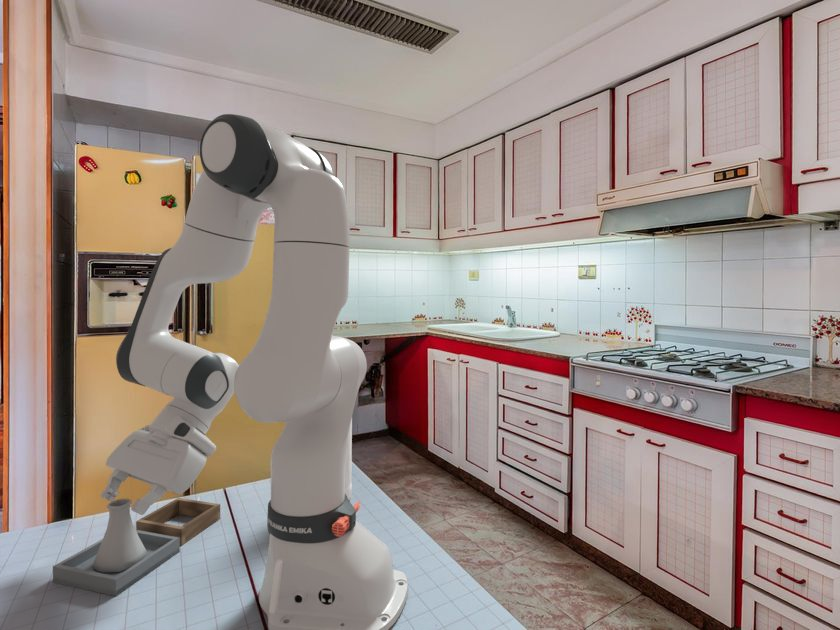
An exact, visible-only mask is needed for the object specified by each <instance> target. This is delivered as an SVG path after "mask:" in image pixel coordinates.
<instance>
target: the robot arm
mask: <svg viewBox="0 0 840 630" xmlns="http://www.w3.org/2000/svg"><path fill="white" fill-rule="evenodd" d="M199 157H200V163H201V166H202V169H203V170H202V171H201V173H200V175H199V178H198V179H197V182H196V184H195V187H194V189H193V192H192V195H191V198H190V201H189V202H188V203H189V204H188V208H187V211H186V215H185V219H184V224H183V228H182V231H181V233H180V236H179V238H178V239H177V241H176V242H175V243H174V245H173V246H172V247H168V248H167V249H165V250H164V251H163V252H162V253H161V254H160V255H159V256H158V258H157V260H156V262H155V264H154V266H153V268H152V270H151V273H150V276H149V277H148V281H147V283H146V285H145V288H144V291H143V294H142V296H141V298H140V301H139V304H138V306H137V310H136V311H135V315H134V318H133V320H132V323H131V325H130V327H129V330H128V331H127V333H126V335H125V336H124V338H123V339H122V341H121V343H120V344H119V346H118V349H117V351H116V354H115V355H116V357H115V363H116V368H117V372H118V374H119V375H120V377H121V378H122V379H123V380H124V381H126V382H129V383H132V384H135V385H139V386H142V387H147V388H150V389H151V390H152V389H153V390H154V391H157V392H159V393H161V394H165V395H166V396H170V397H173V399H172V400H170V401H168V403H166V404H165V406H164V407H163V409H162V410H161V411H160V412H159V413H158V415H157V416H156V417H155V418H154V419H153V421H152V422H151V423H150V424H148V425H145V426H144V427H142V428H138V430H135V431H133V432H131V433H130V434H129V435H128V436H127V437H125V438H124V439H123V440H122V442H121V443H119V445H118V446H116V448H115V449H114V450H113V451H112V452H111V453H110V455H109V456H108V457H107V459H106V462H105V466H106V467H108V468H109V469H111V470H113V472H112V473H111V474H110V476H109V479H108V482H107V484H106V487H105V488H104V490H102V491H101V493H100V495H99V496H100V498H101V499H104V500H106V501H108V502H112V501H115V500H116V497H118V495H119V493H120V492H119V491H118V490H119V488H120V487H121V485H122V482H123V483H125V482H126V480H127V479H128V477H129V478H132V479H135V480H138V481H140V482H142V483H146V484H148V485H151V486H150V487H149V489H148V490H149V491H148V492H147V493H146V494H145V495H144V496H143V497H141V498H140V499H139V498H137V499H136V501H134V504H132V506H131V507H130V511H132V512H133V513H136V514H138V515H140V516H143V515H145V514H146V513H147V511H148V510H149V509H150V507H151V506H153V504H155V503H156V502H158V501H159V500H160V499H162V498H163V497H164V496H165V494H166V493H167V492H170V493H173V494H176V495H182V494H183V493H185V492H186V491H187V490H188V489H190V487H192V485H193V483H194V482H195V481H196V480H197V478H198V476H199V475H200V473H201V472H202V470H203V469H204V467H205V465H206V463H207V457H211V456H212V455H214V453H215V451H216V450H217V446H216V444H215V443H213V441H212V440H211V439H210V438H209V437H208V436H207V435H206V434H207V432H208V431H209V430H210V428H211V426H212V423H213V420H214V419H215V418H216V417H217V416H218V415H219V414H220V413H222V412H223V411H224V409H225V408H226V406H227V405H228V403H229V402H230V401H231V398H232V397H233V395H235V398H236V401H237V403H238V405H239V407H240V408H241V410H242V411H243V412H244V413H245V414H246V415H247V416H248V417H249V418H251V419H252V420H253V421H257V422H259V423H264V424H265V423H266V424H271V423H273V424H274V423H284V422H285V424H284V426H283V429H282V431H281V433H280V435H279V437H278V438H277V439H276V442H275V443H274V445H273V448H272V451H271V455H270V500H269V501H268V504H267V515H266V517H267V520H266V521H267V523H266V527H267V531H268V532H267V533H268V535H269V539H268V540H269V541H268V550H267V551H268V553H267V559H266V565H265V566H266V567H265V570H264V575H263V576H264V577H263V580H262V584H261V587H260V591H259V594H258V602H259V604H260V608H261V609H262V610H263V612H264V613H265V614H266V616H267V627H268V630H390V629H391V628H392V626H394V624H395V623H396V621H397V620H398V618H399V617H400V615H401V613H402V611H403V609H404V607H405V604H406V602H407V598H408V594H409V585H408V579H407V576H406V574H405V572H403V571H400V570H397V569H394V564H393V558H392V554H391V551H390V549H389V547H388V545H387V544H385V542H383V541H381V540H380V539H379V538H378V537H376V536H375V534H373V533H372V532H371V531H370V530H369V529H368V528H366V527H365V526H363V525H362V524H361V523H360V522H359V521H358V520H356V519H357V515H356V514H357V513H358V511H359V510H360V503H361V501H360V500H358V501H357V502H356V503H355V504H354V505H353V504H352V503H351V502H350V500H348V497H347V495H346V494H345V459H346V445H347V438H348V433H349V428H350V423H351V419H352V420H353V414H354V410H355V405H356V401H357V397H358V393H359V389H360V388H361V385H362V383H363V382H364V379H365V377H366V374H367V371H368V364H367V358H366V355H365V353H364V351H363V349H362V348H361V347H360V345H358V344H357V343H356V342H355V341H353V340H351V339H349V338H346V337H342V336H339V335H333V333H334V330H335V326H336V323H337V321H338V317H339V316H340V313H341V311H342V309H343V308H344V307H345V305H346V303H347V302H348V297H349V280H350V279H349V277H350V276H349V273H350V244H351V243H350V241H351V240H350V238H351V237H350V236H351V235H350V220H349V219H350V218H349V210H348V209H349V208H348V202H347V196H346V191H345V188H344V186H343V184H342V182H341V181H340V180H339V179H338V178H337V177H336V176H334V171H333V168H332V166H331V164H330V163H329V161H328V160H327V158H325V157H324V156H323V155H322V154H321V153H320V152H319V151H318V150H316V149H314V148H313V147H311V146H307V145H305V144H304V143H303V142H301V141H299V140H298V139H296V138H294V137H292V136H291V135H289V134H288V133H286V132H285V131H282V130H280V129H277V128H275V127H272V126H270V125H268V124H264V123H260V122H257V120H255V119H253V118H252V117H248V116H244V115H240V114H234V113H233V114H232V113H226V114H225V113H224V114H221V115H219V116H217V117H215V118H213V120H211V122H210V123H209V124H208V125H207V126H206V128H205V129H204V131H203V133H202V136H201V138H200V142H199ZM269 208H272V209H271V210H272V211H273V215H274V231H273V259H272V277H271V278H272V282H271V283H272V284H271V293H270V294H271V295H270V300H269V306H268V309H267V313H266V316H265V319H264V322H263V325H262V328H261V331H260V333H259V335H258V338H257V340H256V341H255V344H253V345H254V346H253V347H252V348H251V349H250V351H249V352H248V354H247V355H245V357H244V358H243V359H242V361H240V363H238V362H237V361H236V359H234V358H232V357H231V356H230V355H228V354H226V353H223V352H212V351H210V350H208V349H205V348H203V347H201V346H200V347H199V346H197V345H195V344H191V343H189V342H186V341H183V340H181V339H178V338H176V337H173V336H172V334H171V333H170V330H169V325H170V323H171V320H172V317H173V316H174V313H175V311H176V308H177V305H178V304H179V303H178V302H179V300H180V298H181V295H182V293H183V292H184V291H185V290H186V289H187V288H188V287H190V286H192V285H197V284H199V285H201V284H213V283H221V282H222V283H223V282H227V281H229V280H231V279H232V280H233V278H235V277H237V276H239V275H240V274H242V272H244V270H245V269H246V267H247V266H248V265H249V261H250V260H251V257H252V254H253V253H252V252H253V249H254V244H255V240H256V236H257V231H258V227H259V226H258V225H259V221H260V219H261V216H262V214H263V213H264V212H265V211H266V210H268V209H269Z"/></svg>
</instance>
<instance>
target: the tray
mask: <svg viewBox="0 0 840 630" xmlns="http://www.w3.org/2000/svg"><path fill="white" fill-rule="evenodd" d="M135 530H136V529H135ZM136 532H137V534H138V536H139V538H140V540H141V542H142V543H143V545H144V547H145V549H146V551H147V554H146V555H145V556H144V557H143V558H142V560H141V561H139V562H138V563H136V564H135V565H133V566H131V567H129V568H127V569H125V570H123V571H121V572H106V573H100V572H99V571H97V570H95V569H94V568H92V565H93V563H94V560H95V558H96V555H97V553H98V550H99V548H100V546H101V543H102V540H103V538H102V539H100V540H98V541H96V542H94V543H93V544H91V545H88V546H87V547H86V548H84V549H82V550H80V551H78V552H77V553H75V554H72V555H71V556H69V557H67V558H65V559H64V560H62V561H60V562H58V563H56V564H55V565H53V566H52V582H53V583H56V584H60V585H64V586H70V587H74V588H77V589H82V590H86V591H91V592H95V593H100V594H104V595H108V596H113V597H118V596H119V595H120V594H121V593H123V592H125V591H126V590H128V589H129V588H130V587H131V586H133V585H135V584H136V583H137V582H138V581H140V580H142V579H143V578H144V577H145V576H146V577H147V575H148V574H150V573H151V572H153V571H154V570H156V569H157V568H159V567H160V566H161V565H162V564H164V563H166V562H168V560H170V559H171V558H172V557H174V556H176V555H177V554H178V553H180V548H181V547H180V546H181V545H180V538H179V537H173V536H168V535H162V534H157V533H151V532H145V531H140V530H136Z"/></svg>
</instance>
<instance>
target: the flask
mask: <svg viewBox="0 0 840 630" xmlns="http://www.w3.org/2000/svg"><path fill="white" fill-rule="evenodd" d="M131 504H132V499H130V498H118V499H114V500H113V501H109V503H108V504H106V507H107V509H109V510H108V512H109V514H108V515H109V517H108V522H107V526H106V527H107V528H106V530H105V532H104V535H103V538H102V539H103V540H102V539H101V540H102V543H101V546H100V548H99V550H98V553H97V555H96V558H95V560H94V563H93V565H92V568H94V569H95V570H97V571H99V572H100V573H106V572H121V571H123V570H125V569H127V568H129V567H131V566H133V565H135V564H136V563H138V562H139V561H141V560H142V558H143V557H144V556H145V555H146V554H147V551H146V549H145V547H144V545H143V543H142V542H141V540H140V538H139V536H138V534H137V532H136V526H135V525H134V523H133V520H132V517H131V507H130V506H131Z"/></svg>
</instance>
